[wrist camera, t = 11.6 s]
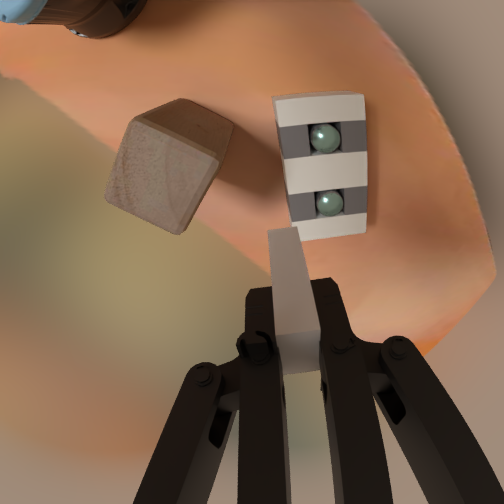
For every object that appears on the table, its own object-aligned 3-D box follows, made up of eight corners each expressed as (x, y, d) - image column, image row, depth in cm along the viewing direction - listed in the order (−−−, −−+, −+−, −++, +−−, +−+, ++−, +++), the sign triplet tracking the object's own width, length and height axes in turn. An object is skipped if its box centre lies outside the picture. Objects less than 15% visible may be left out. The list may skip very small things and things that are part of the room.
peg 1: (301, 118, 40) (310, 126, 34) (326, 116, 40) (339, 124, 34) (304, 142, 42) (313, 154, 36) (329, 139, 42) (341, 152, 36)
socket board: (271, 96, 38) (275, 100, 33) (347, 90, 37) (363, 94, 31) (289, 220, 51) (294, 242, 45) (353, 212, 50) (365, 232, 44)
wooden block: (236, 123, 41) (225, 161, 25) (206, 174, 46) (180, 241, 30) (180, 95, 38) (128, 115, 22) (154, 149, 43) (98, 202, 27)
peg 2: (308, 176, 46) (316, 194, 40) (331, 174, 45) (343, 191, 40) (310, 198, 48) (318, 218, 42) (332, 195, 48) (343, 215, 42)
